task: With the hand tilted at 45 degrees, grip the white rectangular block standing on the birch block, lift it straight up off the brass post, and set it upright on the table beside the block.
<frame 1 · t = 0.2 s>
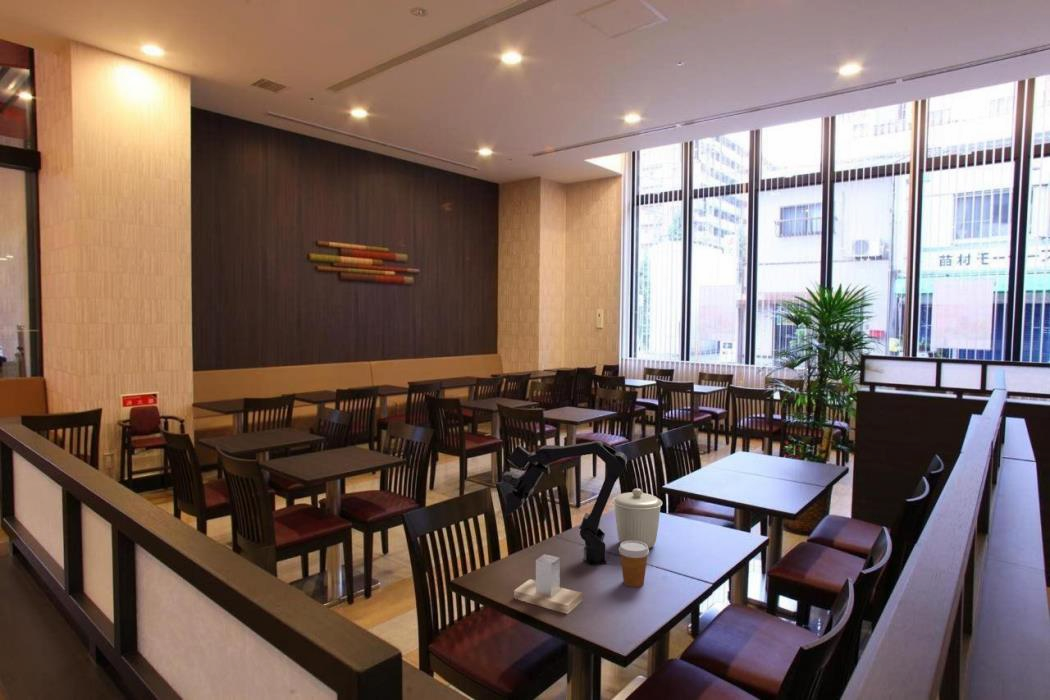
hand: (508, 511, 213), 15 cm above the table, tool tilted 35°, fingers open, 9 cm apart
disposable coffee cup: (633, 583, 189), on the table
canister: (636, 545, 220), on the table
white rectangular block: (547, 591, 177), point 2 cm above the table, touching birch block
birch block: (547, 599, 178), on the table
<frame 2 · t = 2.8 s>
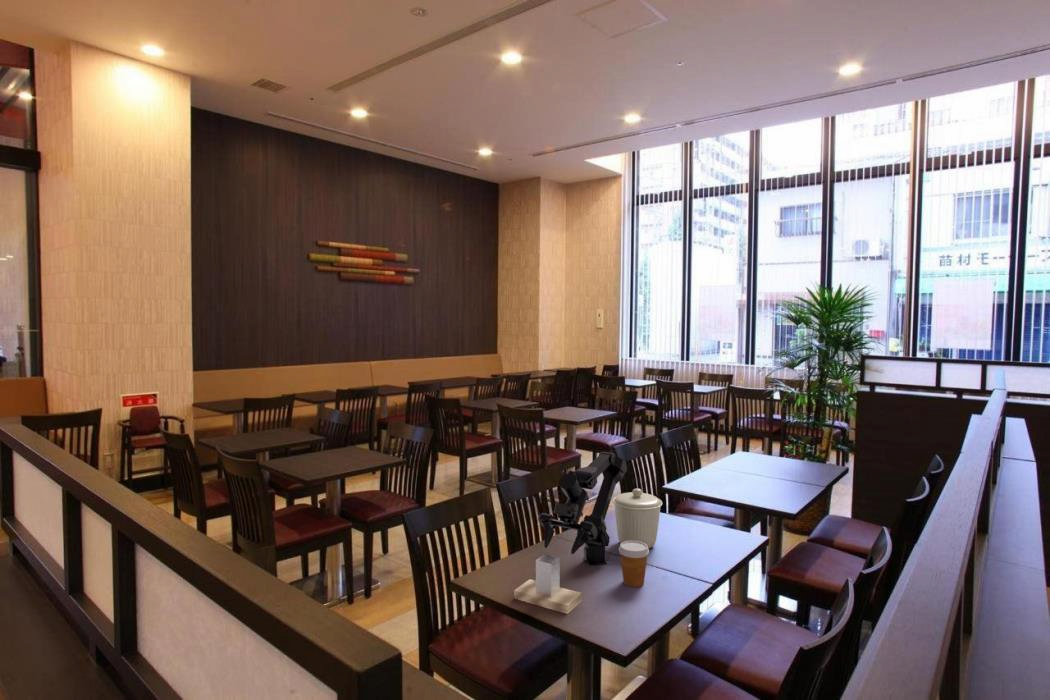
hand: (558, 550, 183), 13 cm above the table, tool tilted 45°, fingers open, 9 cm apart
nothing on the table moved.
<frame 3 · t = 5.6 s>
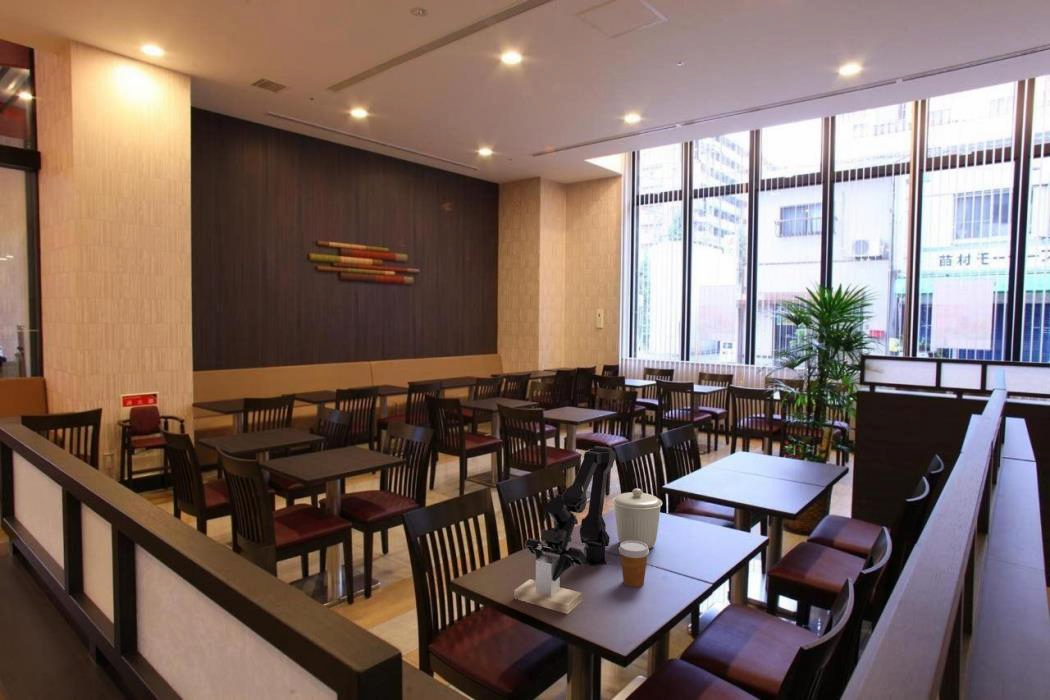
hand: (545, 578, 176), 7 cm above the table, tool tilted 45°, fingers closed on white rectangular block, 5 cm apart
white rectangular block: (547, 591, 177), point 2 cm above the table, touching birch block, gripper
everything else where it was.
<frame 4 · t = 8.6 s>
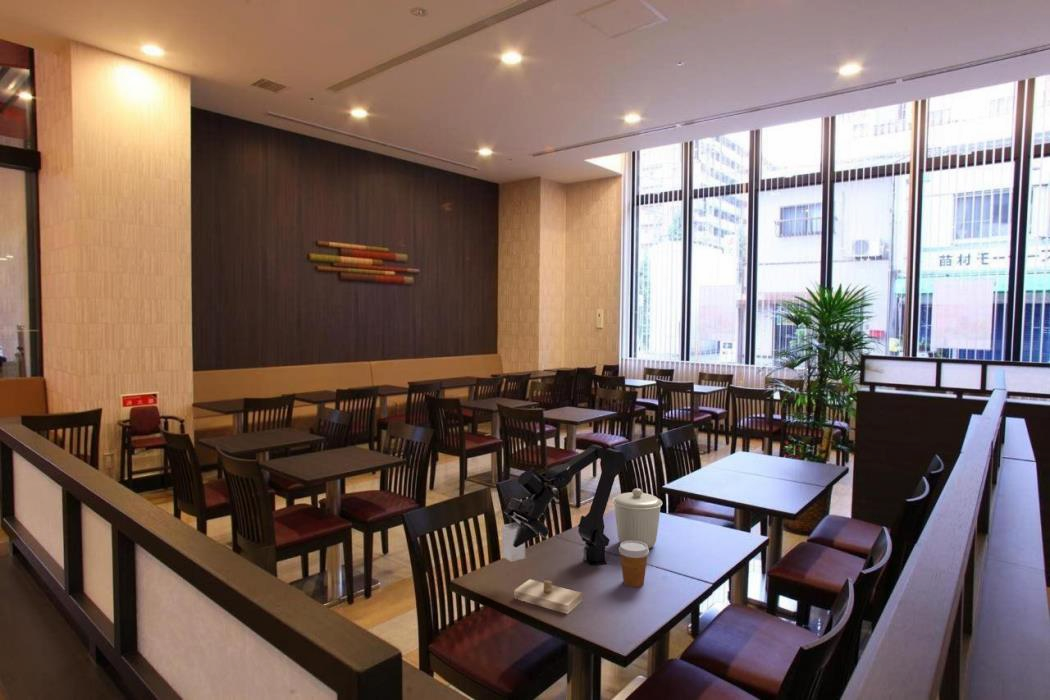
hand: (509, 543, 186), 13 cm above the table, tool tilted 45°, fingers closed on white rectangular block, 5 cm apart
white rectangular block: (513, 557, 187), point 9 cm above the table, touching gripper
everything else where it was.
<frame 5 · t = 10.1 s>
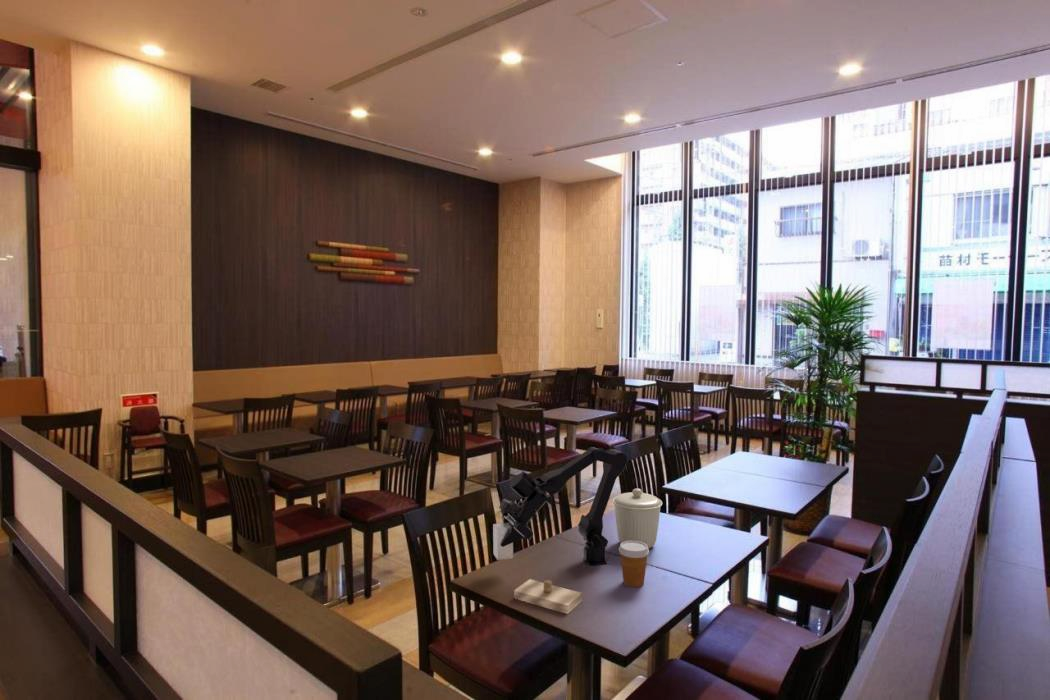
hand: (499, 542, 194), 11 cm above the table, tool tilted 45°, fingers closed on white rectangular block, 5 cm apart
white rectangular block: (503, 556, 195), point 6 cm above the table, touching gripper
everything else where it was.
when the fingers open (6 cm above the table, at t = 11.6 s): white rectangular block drops 2 cm, on the table.
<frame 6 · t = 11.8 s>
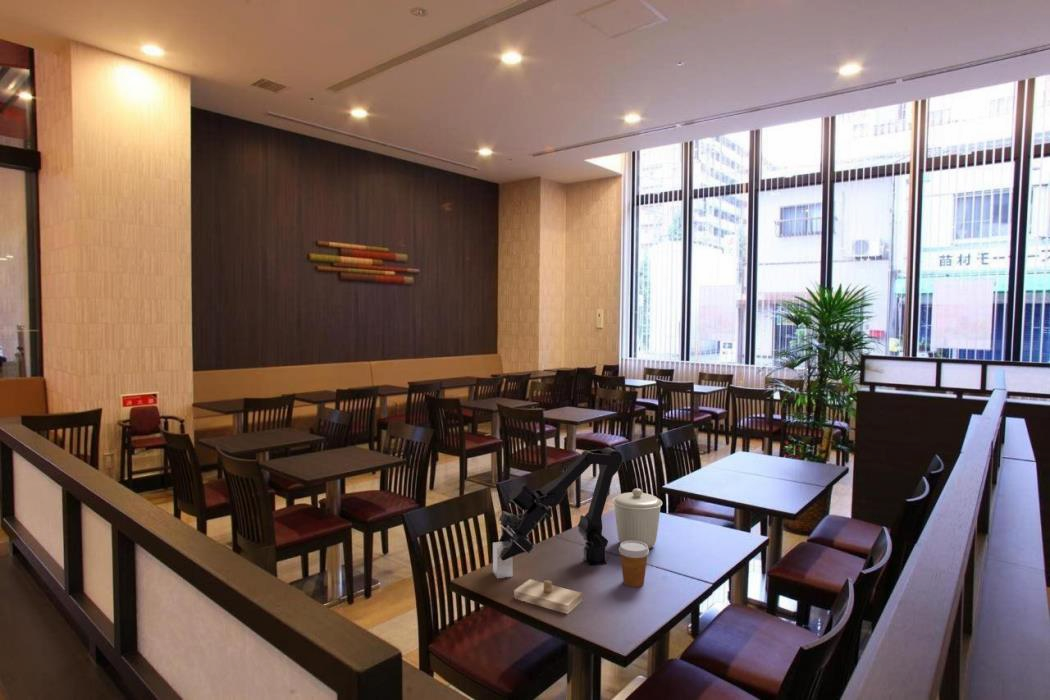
hand: (498, 555, 195), 7 cm above the table, tool tilted 45°, fingers open, 7 cm apart
white rectangular block: (502, 574, 195), on the table
everything else where it was.
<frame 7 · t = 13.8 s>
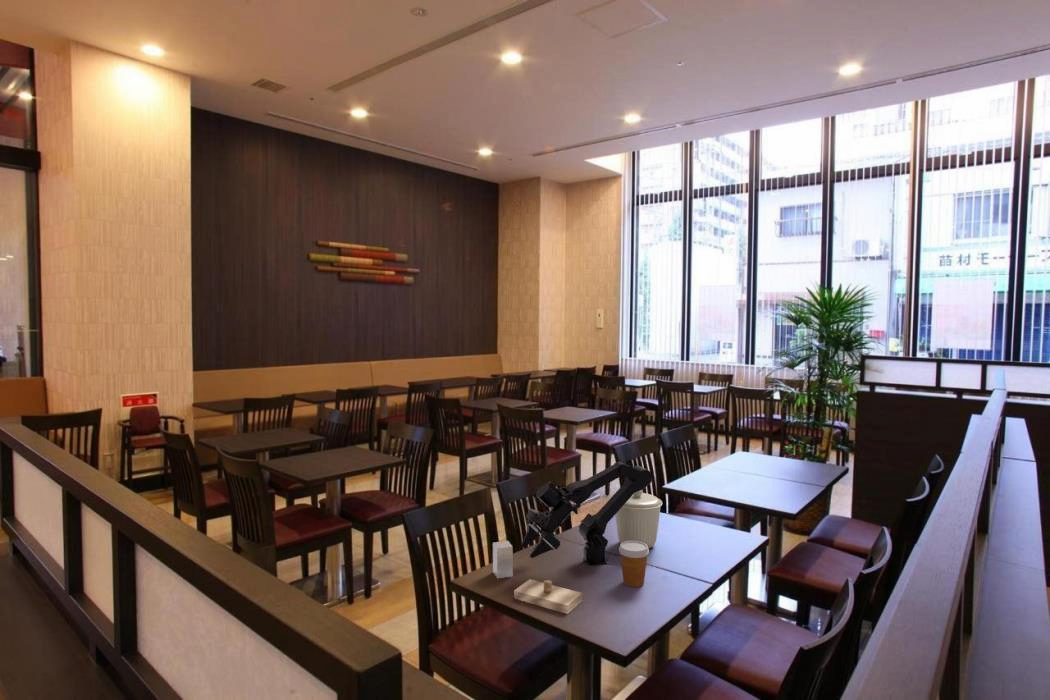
hand: (526, 552, 198), 6 cm above the table, tool tilted 45°, fingers open, 9 cm apart
nothing on the table moved.
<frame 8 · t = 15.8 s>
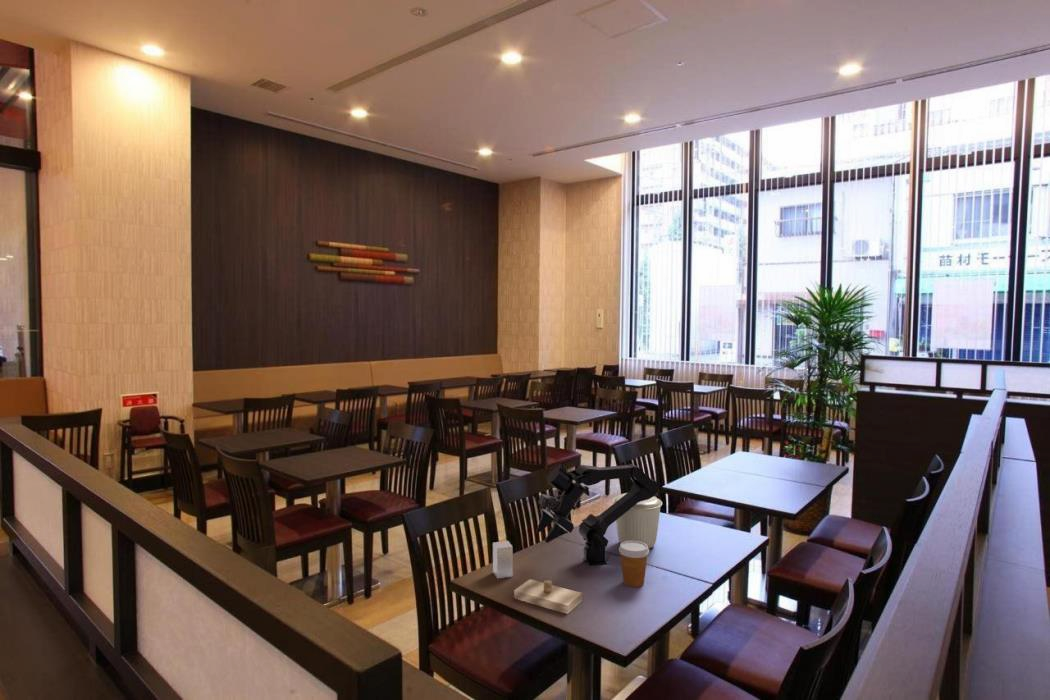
hand: (541, 536, 199), 11 cm above the table, tool tilted 40°, fingers open, 9 cm apart
canister: (636, 545, 220), on the table, touching arm
everything else where it was.
at the end: white rectangular block inside the target area (0.1 cm from its centre), on the table; white rectangular block tilted 0°; the gripper is holding nothing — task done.
